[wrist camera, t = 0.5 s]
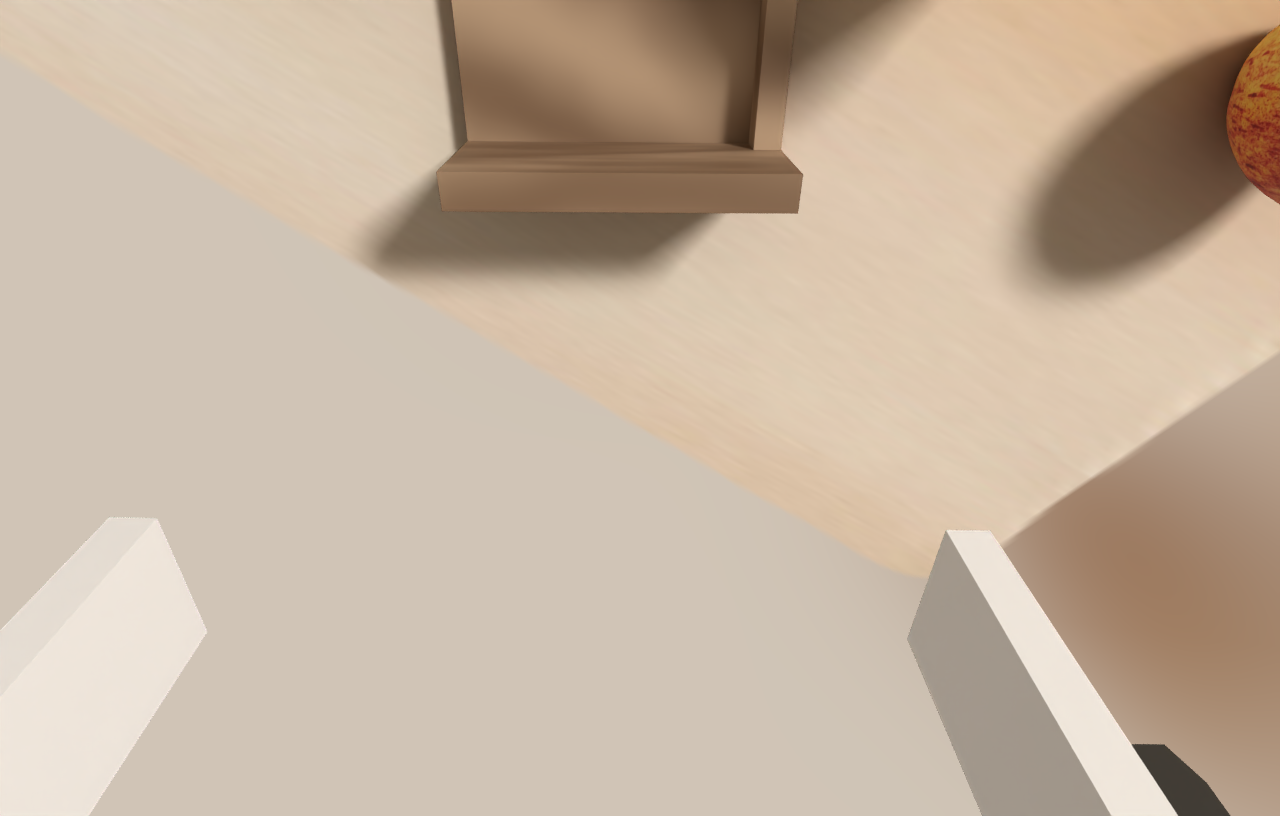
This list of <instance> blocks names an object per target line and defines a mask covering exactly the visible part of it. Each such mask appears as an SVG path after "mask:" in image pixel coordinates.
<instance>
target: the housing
mask: <svg viewBox="0 0 1280 816" xmlns="http://www.w3.org/2000/svg"><path fill="white" fill-rule="evenodd" d="M451 1H452V10H453V19H454V27H455V36H456V45H457V53H458V62H459V71H460V79H461V88H462V97H463V105H464V114H465V123H466V131H467V140H468V141H467V142H466V143H465V144H464V145H463V146H462V147H461V148H460V149H459V150H458V151H457V152H456V153H455V154H454V155H453V156H452V157H451V158H450V159H449V160H448V161H447V162H446V163H445V164H444V165H443V166H442V167H441V168H440V169H439V170H438V171H437V172H436V173H437V180H438V187H439V194H440V201H441V209H442V211H459V212H630V213H798V209H799V201H800V194H801V186H802V179H803V174H802V173H801V172H800V171H799V169H798V168H797V167H796V166H795V165H794V164H793V163H792V162H791V161H790V160H789V159H788V157H787V156H786V155H785V154H784V153H783V152H782V151H781V144H782V135H783V126H784V117H785V109H786V100H787V91H788V82H789V73H790V64H791V55H792V46H793V38H794V29H795V20H796V11H797V2H798V0H451Z"/></svg>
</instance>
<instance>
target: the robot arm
mask: <svg viewBox="0 0 1280 816" xmlns="http://www.w3.org/2000/svg"><path fill="white" fill-rule="evenodd" d="M206 633H207V630H206V628H205V626H204V623H203V621H202V619H201V617H200V614H199V612H198V610H197V608H196V605H195V603H194V601H193V598H192V596H191V594H190V592H189V590H188V587H187V585H186V583H185V580H184V578H183V576H182V574H181V571H180V569H179V567H178V565H177V562H176V560H175V558H174V556H173V553H172V551H171V549H170V547H169V544H168V542H167V540H166V538H165V536H164V533H163V531H162V529H161V526H160V524H159V522H158V520H157V518H115V517H110V518H108V519H107V520H106V521H105V522H104V523H103V524H102V525H101V526H100V527H99V529H97V531H96V532H95V533H94V534H93V535H92V536H91V537H90V538H89V539H88V540H87V541H86V542H85V543H84V544H83V545H82V546H81V547H80V548H79V549H78V550H77V551H76V552H75V553H74V554H73V555H72V556H71V557H70V558H69V560H68V561H67V562H66V563H65V564H64V565H63V566H62V567H61V568H60V569H59V570H58V571H57V572H56V573H55V574H54V575H53V576H52V577H51V578H50V579H49V580H48V582H46V583H45V584H44V585H43V587H41V589H40V590H39V591H38V592H37V593H36V594H35V595H34V596H33V597H32V598H31V599H30V600H29V601H28V602H27V603H26V604H25V605H24V606H23V607H22V608H21V609H20V610H19V611H18V612H17V614H16V615H14V616H13V618H12V619H11V620H10V621H9V622H8V623H7V624H6V625H5V626H4V627H3V628H2V629H1V630H0V816H89V814H90V813H91V811H92V810H93V808H94V807H95V805H96V804H97V802H98V800H99V799H100V797H101V796H102V794H103V793H104V791H105V790H106V788H107V786H108V785H109V783H110V782H111V780H112V779H113V777H114V776H115V774H116V772H117V771H118V769H119V768H120V766H121V765H122V763H123V762H124V760H125V759H126V757H127V755H128V754H129V752H130V751H131V749H132V748H133V746H134V745H135V743H136V742H137V740H138V738H139V737H140V735H141V734H142V732H143V731H144V729H145V728H146V726H147V725H148V723H149V721H150V720H151V718H152V717H153V715H154V714H155V712H156V710H157V709H158V707H159V706H160V704H161V703H162V701H163V700H164V698H165V697H166V695H167V694H168V692H169V690H170V689H171V687H172V686H173V684H174V683H175V681H176V679H177V678H178V676H179V675H180V673H181V672H182V670H183V669H184V667H185V666H186V664H187V662H188V661H189V659H190V658H191V656H192V655H193V653H194V652H195V650H196V649H197V647H198V645H199V644H200V642H201V641H202V639H203V638H204V636H205V635H206ZM907 640H908V642H909V645H910V647H911V649H912V651H913V653H914V656H915V659H916V661H917V663H918V666H919V668H920V670H921V673H922V675H923V677H924V680H925V682H926V685H927V687H928V689H929V692H930V694H931V696H932V699H933V701H934V703H935V706H936V708H937V711H938V713H939V715H940V717H941V720H942V722H943V725H944V727H945V729H946V732H947V734H948V736H949V739H950V741H951V743H952V746H953V748H954V750H955V753H956V755H957V757H958V760H959V762H960V765H961V767H962V769H963V772H964V774H965V776H966V779H967V781H968V783H969V786H970V788H971V791H972V793H973V795H974V798H975V800H976V802H977V805H978V807H979V809H980V812H981V814H982V816H1230V815H1229V813H1228V812H1227V810H1226V809H1225V808H1224V806H1223V805H1222V804H1221V802H1220V801H1219V800H1218V798H1217V797H1216V795H1215V794H1214V792H1213V791H1212V790H1211V788H1210V787H1209V785H1208V784H1207V783H1206V782H1205V781H1204V780H1203V779H1202V778H1201V777H1200V776H1198V775H1197V774H1196V773H1195V772H1194V771H1193V770H1192V769H1191V768H1190V767H1188V766H1187V765H1186V764H1185V763H1184V762H1183V761H1181V759H1180V758H1178V757H1177V756H1176V755H1175V754H1174V753H1173V752H1172V751H1171V750H1170V749H1168V748H1167V747H1166V746H1165V745H1157V744H1155V745H1154V744H1152V745H1150V744H1135V745H1134V744H1131V743H1130V742H1129V740H1128V739H1127V738H1126V736H1125V734H1124V733H1123V731H1122V730H1121V728H1120V727H1119V725H1118V724H1117V722H1116V721H1115V719H1114V718H1113V716H1112V715H1111V713H1110V712H1109V710H1108V709H1107V707H1106V706H1105V704H1104V703H1103V701H1102V700H1101V698H1100V696H1099V695H1098V693H1097V692H1096V690H1095V689H1094V687H1093V686H1092V684H1091V683H1090V681H1089V680H1088V678H1087V677H1086V675H1085V674H1084V672H1083V671H1082V669H1081V668H1080V666H1079V665H1078V663H1077V662H1076V660H1075V659H1074V657H1073V656H1072V654H1071V652H1070V651H1069V649H1068V648H1067V646H1066V645H1065V643H1064V642H1063V641H1062V639H1061V637H1060V636H1059V634H1058V633H1057V631H1056V630H1055V628H1054V627H1053V625H1052V624H1051V622H1050V621H1049V619H1048V618H1047V616H1046V615H1045V613H1044V611H1043V610H1042V609H1041V607H1040V605H1039V604H1038V603H1037V601H1036V599H1035V598H1034V596H1033V595H1032V593H1031V592H1030V590H1029V589H1028V587H1027V586H1026V584H1025V583H1024V581H1023V580H1022V578H1021V577H1020V575H1019V574H1018V572H1017V571H1016V569H1015V567H1014V566H1013V564H1012V563H1011V561H1010V560H1009V558H1008V557H1007V555H1006V554H1005V552H1004V551H1003V549H1002V548H1001V546H1000V545H999V543H998V542H997V540H996V539H995V537H994V536H993V534H992V533H991V531H979V530H946V531H945V534H944V537H943V540H942V542H941V545H940V548H939V551H938V554H937V556H936V559H935V562H934V565H933V568H932V570H931V573H930V576H929V579H928V582H927V584H926V587H925V590H924V593H923V596H922V598H921V601H920V604H919V607H918V610H917V613H916V615H915V618H914V621H913V624H912V627H911V629H910V632H909V635H908V638H907Z"/></svg>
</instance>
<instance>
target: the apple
mask: <svg viewBox="0 0 1280 816" xmlns="http://www.w3.org/2000/svg"><path fill="white" fill-rule="evenodd" d="M1226 124H1227V133H1228V138H1229V142H1230V146H1231V149H1232V152H1233V154H1234V156H1235V159H1236V161H1237V163H1238V165H1239V167H1240V168H1241V170H1242V171H1243V173H1244V174H1245V175H1246V177H1247V178H1248V179H1249V180H1250V181H1251V182H1252V183H1253V184H1254V185H1255V186H1256V187H1257V188H1258V189H1259V190H1260V191H1261V192H1263V193H1264V194H1265V195H1266V196H1268V197H1270V198H1271V199H1273V200H1274V201H1276V202H1277V203H1279V204H1280V25H1279V26H1277V27H1276V28H1275V29H1273V30H1272V31H1271V32H1270V33H1269V34H1268V35H1266V36H1265V37H1264V39H1263V40H1262V41H1261V42H1260V43H1259V44H1258V45H1257V46H1256V47H1255V48H1254V50H1253V51H1252V52H1251V53H1250V55H1249V56H1248V58H1247V59H1246V61H1245V62H1244V64H1243V66H1242V68H1241V70H1240V72H1239V75H1238V77H1237V79H1236V82H1235V85H1234V88H1233V91H1232V94H1231V97H1230V100H1229V104H1228V109H1227V118H1226Z"/></svg>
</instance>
